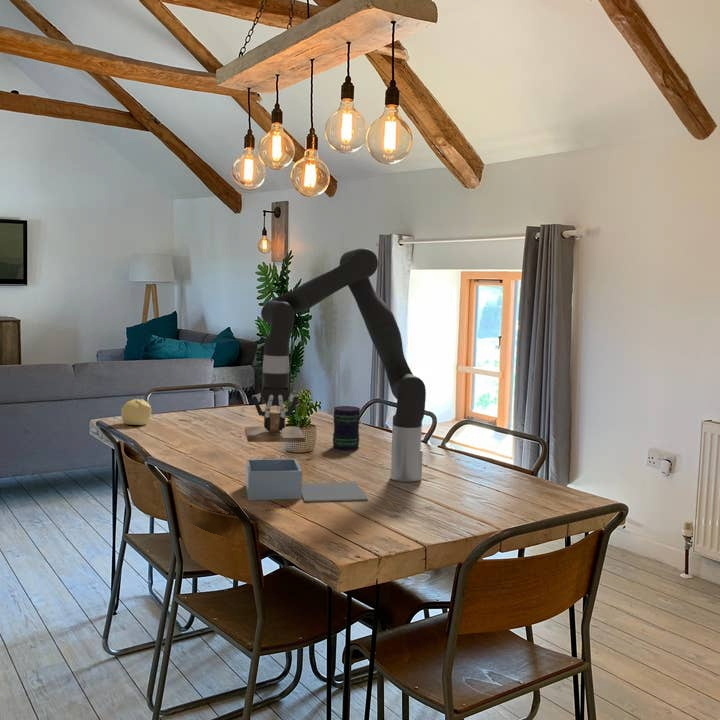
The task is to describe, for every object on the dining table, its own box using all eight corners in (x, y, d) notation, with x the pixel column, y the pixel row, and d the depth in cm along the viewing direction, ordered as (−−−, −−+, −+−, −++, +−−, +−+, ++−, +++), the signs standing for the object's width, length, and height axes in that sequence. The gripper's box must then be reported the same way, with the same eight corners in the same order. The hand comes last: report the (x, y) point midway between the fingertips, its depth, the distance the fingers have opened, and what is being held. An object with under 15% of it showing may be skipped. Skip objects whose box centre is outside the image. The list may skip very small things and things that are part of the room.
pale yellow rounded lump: (154, 426, 316) (155, 400, 315) (125, 428, 310) (125, 401, 309) (147, 421, 326) (147, 395, 324) (118, 423, 320) (118, 397, 318)
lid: (298, 430, 232) (299, 408, 232) (305, 441, 217) (305, 418, 216) (244, 430, 229) (245, 408, 228) (247, 441, 213) (248, 418, 213)
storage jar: (358, 451, 281) (360, 411, 280) (331, 450, 282) (332, 410, 280) (359, 445, 291) (360, 406, 290) (333, 444, 292) (334, 405, 290)
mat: (355, 483, 237) (355, 482, 237) (367, 500, 219) (367, 499, 219) (297, 485, 233) (297, 483, 233) (304, 502, 215) (304, 500, 215)
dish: (295, 484, 233) (296, 458, 233) (301, 498, 219) (302, 471, 218) (245, 485, 230) (245, 459, 230) (248, 500, 216) (248, 472, 215)
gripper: (298, 369, 226) (296, 427, 228) (250, 368, 223) (248, 427, 225) (302, 372, 219) (299, 432, 220) (252, 372, 216) (250, 432, 218)
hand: (274, 429), depth 223 cm, fingers closed on lid, 3 cm apart
